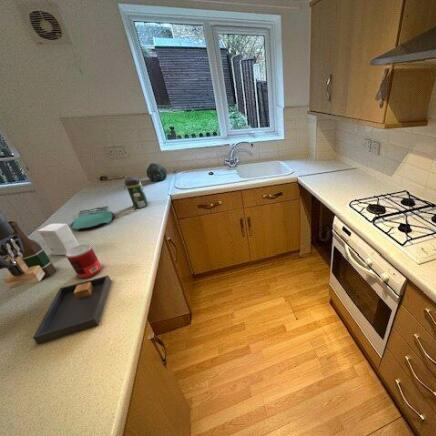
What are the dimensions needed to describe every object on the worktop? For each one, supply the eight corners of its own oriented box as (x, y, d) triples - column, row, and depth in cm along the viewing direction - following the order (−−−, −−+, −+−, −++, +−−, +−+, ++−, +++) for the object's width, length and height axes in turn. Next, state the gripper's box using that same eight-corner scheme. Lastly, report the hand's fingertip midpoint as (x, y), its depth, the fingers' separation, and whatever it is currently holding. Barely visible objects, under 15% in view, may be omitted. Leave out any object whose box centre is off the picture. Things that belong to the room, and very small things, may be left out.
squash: (167, 168, 205) (150, 158, 194) (172, 173, 195) (155, 162, 184) (157, 182, 204) (139, 172, 192) (162, 187, 194) (144, 177, 183)
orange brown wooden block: (77, 299, 83) (73, 292, 82) (80, 291, 87) (76, 285, 85) (91, 295, 85) (87, 289, 83) (93, 287, 88) (90, 281, 86)
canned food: (104, 263, 101) (93, 242, 96) (98, 275, 94) (86, 253, 89) (83, 268, 99) (70, 246, 93) (75, 281, 92) (61, 258, 87)
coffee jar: (134, 204, 155) (124, 176, 146) (148, 201, 158) (138, 174, 149) (133, 209, 147) (122, 181, 138) (148, 206, 150) (138, 178, 142)
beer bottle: (35, 271, 98) (-1, 220, 86) (59, 265, 101) (27, 215, 89) (27, 283, 92) (-13, 230, 80) (53, 276, 95) (18, 224, 83)
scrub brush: (10, 288, 73) (-8, 266, 69) (17, 280, 76) (0, 258, 72) (39, 281, 75) (24, 259, 71) (45, 273, 79) (30, 252, 74)
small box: (81, 247, 112) (67, 223, 106) (68, 255, 107) (54, 231, 101) (65, 246, 113) (51, 223, 107) (52, 255, 108) (36, 230, 101)
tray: (38, 344, 69) (32, 338, 68) (64, 294, 86) (60, 287, 85) (98, 325, 74) (94, 318, 73) (111, 281, 92) (108, 275, 90)
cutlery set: (69, 235, 122) (67, 231, 121) (76, 213, 145) (75, 210, 144) (115, 224, 132) (113, 220, 130) (115, 205, 154) (114, 202, 153)
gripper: (-18, 215, 70) (16, 262, 78) (-53, 239, 59) (-9, 290, 67) (16, 210, 72) (45, 256, 81) (-12, 231, 61) (26, 282, 70)
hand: (21, 271), depth 74 cm, fingers closed on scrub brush, 2 cm apart
